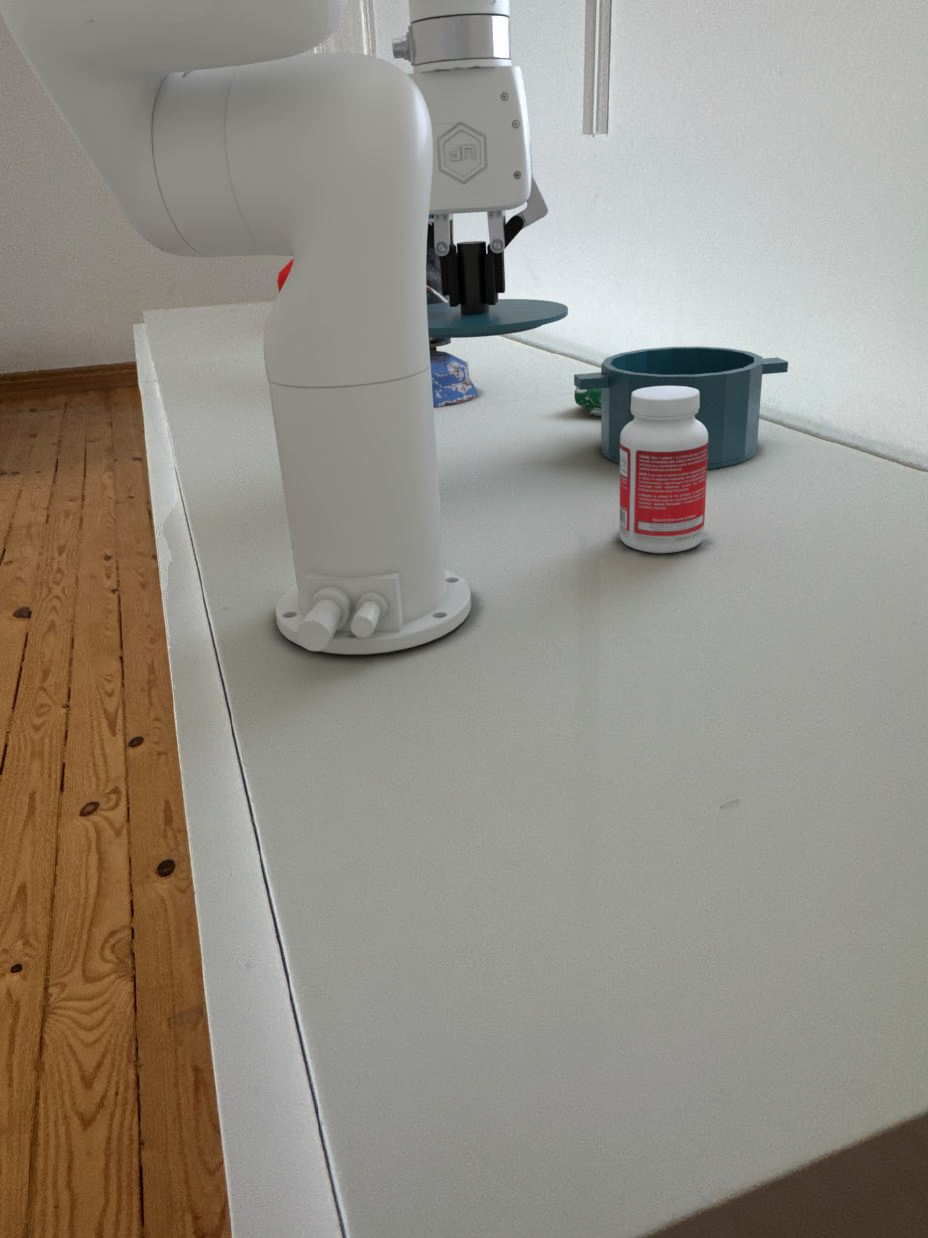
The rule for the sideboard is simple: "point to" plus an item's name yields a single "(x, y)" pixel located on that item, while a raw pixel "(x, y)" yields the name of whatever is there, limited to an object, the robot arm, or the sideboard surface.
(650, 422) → the pill bottle
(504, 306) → the pot lid
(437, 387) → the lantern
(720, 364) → the teal cooking pot
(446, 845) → the sideboard surface
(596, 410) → the gaming controller
